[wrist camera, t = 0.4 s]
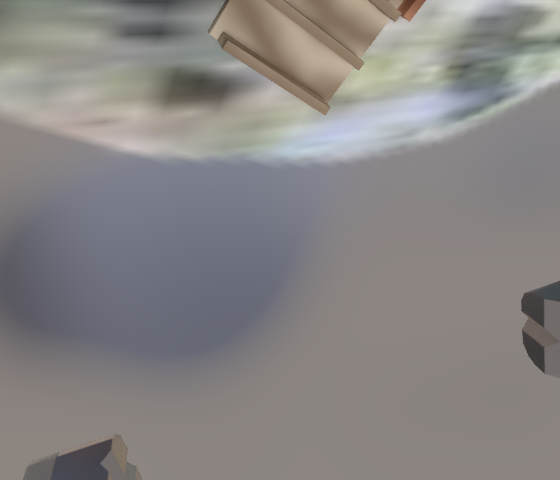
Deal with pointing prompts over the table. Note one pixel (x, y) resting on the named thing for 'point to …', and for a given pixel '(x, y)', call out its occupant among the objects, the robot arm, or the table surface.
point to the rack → (305, 39)
